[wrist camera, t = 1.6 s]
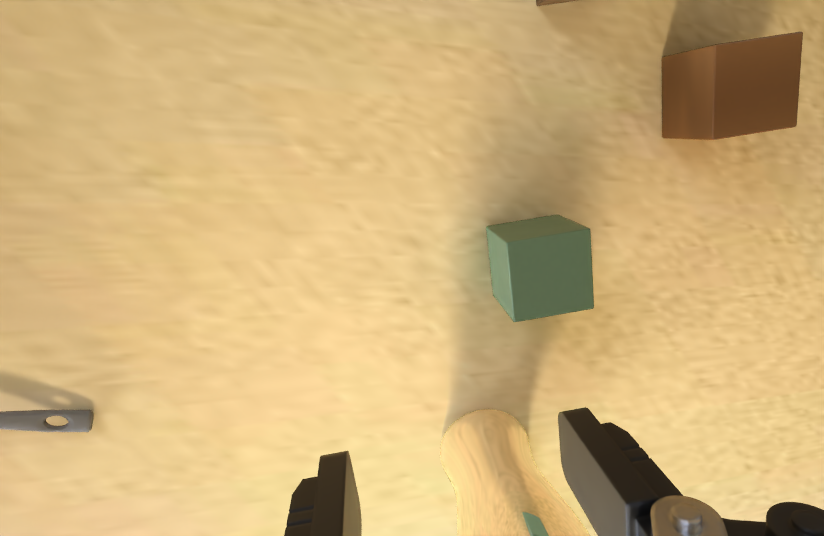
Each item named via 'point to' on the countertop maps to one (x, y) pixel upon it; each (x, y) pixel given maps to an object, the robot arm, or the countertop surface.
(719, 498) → the countertop surface
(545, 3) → the walnut block
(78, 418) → the ladle
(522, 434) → the beer glass
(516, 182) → the countertop surface
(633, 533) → the robot arm
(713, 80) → the oak block
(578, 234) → the sage block
